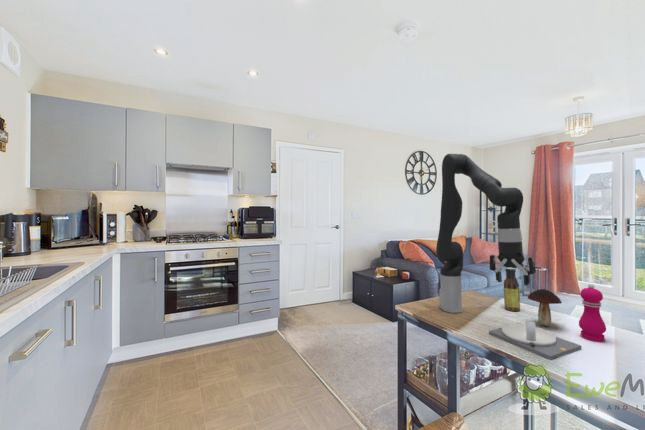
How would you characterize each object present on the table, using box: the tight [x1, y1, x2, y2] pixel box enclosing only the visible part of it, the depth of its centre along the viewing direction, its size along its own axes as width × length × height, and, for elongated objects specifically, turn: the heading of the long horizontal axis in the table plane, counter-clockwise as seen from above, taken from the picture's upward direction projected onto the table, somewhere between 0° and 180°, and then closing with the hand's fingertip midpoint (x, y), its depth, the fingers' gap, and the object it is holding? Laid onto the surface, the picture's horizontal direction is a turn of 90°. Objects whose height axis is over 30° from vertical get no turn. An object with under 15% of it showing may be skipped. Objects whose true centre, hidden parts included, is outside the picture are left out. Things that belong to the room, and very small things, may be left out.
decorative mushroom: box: [527, 288, 562, 327], centre depth 114 cm, size 11×11×15 cm
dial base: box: [488, 327, 582, 361], centre depth 100 cm, size 21×17×1 cm
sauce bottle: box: [503, 267, 521, 312], centre depth 133 cm, size 7×6×20 cm
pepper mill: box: [578, 283, 607, 343], centre depth 102 cm, size 7×7×20 cm
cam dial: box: [501, 320, 557, 347], centre depth 101 cm, size 18×16×7 cm
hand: (512, 283), depth 103 cm, fingers open, 8 cm apart
